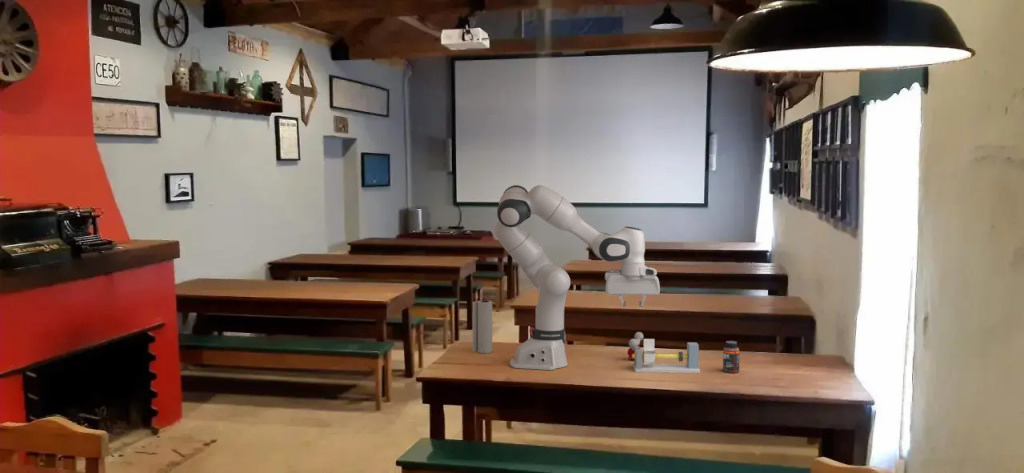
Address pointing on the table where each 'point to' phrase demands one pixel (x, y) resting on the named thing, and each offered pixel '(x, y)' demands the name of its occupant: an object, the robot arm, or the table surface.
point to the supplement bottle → (731, 357)
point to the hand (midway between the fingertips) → (632, 306)
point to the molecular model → (634, 344)
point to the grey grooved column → (482, 326)
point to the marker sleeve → (649, 352)
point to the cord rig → (670, 368)
